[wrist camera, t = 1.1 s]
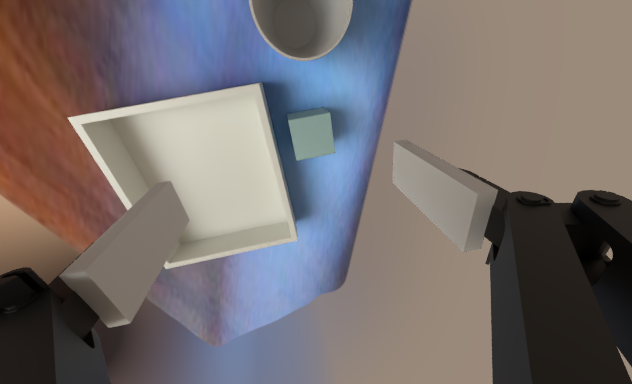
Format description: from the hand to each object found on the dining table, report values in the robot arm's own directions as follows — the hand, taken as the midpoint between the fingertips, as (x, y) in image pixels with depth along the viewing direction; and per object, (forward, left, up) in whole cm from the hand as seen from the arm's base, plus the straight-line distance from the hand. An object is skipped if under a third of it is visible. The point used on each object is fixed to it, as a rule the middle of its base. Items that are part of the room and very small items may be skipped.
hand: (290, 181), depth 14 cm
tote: (+6, -11, -20) cm, 24 cm away
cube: (+2, +3, -20) cm, 20 cm away
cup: (-10, +4, -20) cm, 23 cm away
